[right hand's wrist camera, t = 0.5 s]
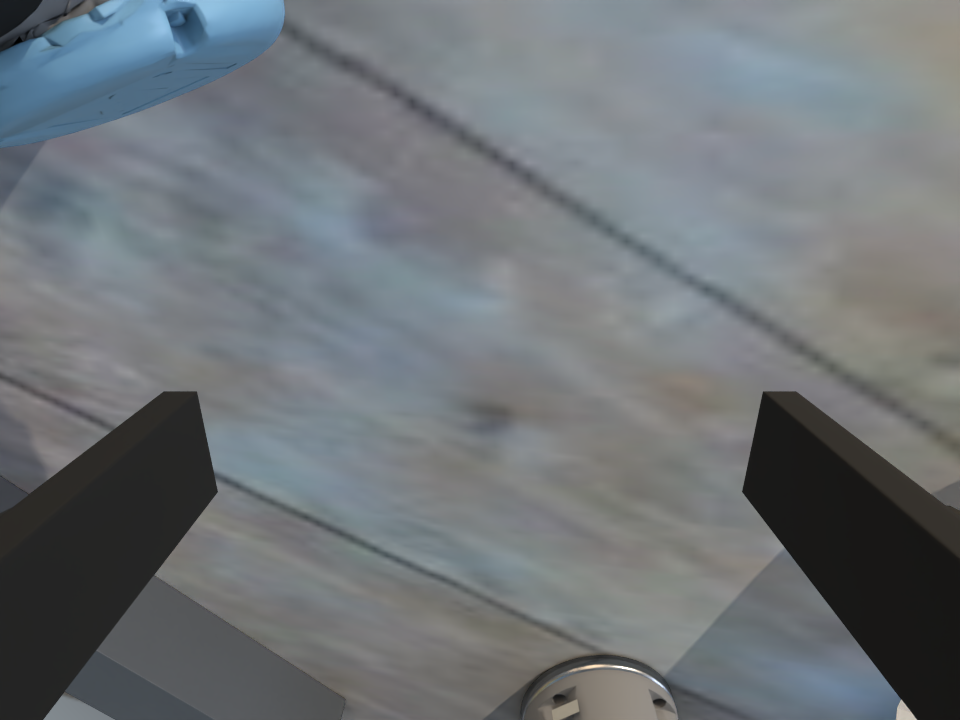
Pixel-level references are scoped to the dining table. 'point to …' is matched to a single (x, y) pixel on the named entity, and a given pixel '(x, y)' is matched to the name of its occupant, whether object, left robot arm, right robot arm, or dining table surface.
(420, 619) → the dining table surface
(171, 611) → the bar
